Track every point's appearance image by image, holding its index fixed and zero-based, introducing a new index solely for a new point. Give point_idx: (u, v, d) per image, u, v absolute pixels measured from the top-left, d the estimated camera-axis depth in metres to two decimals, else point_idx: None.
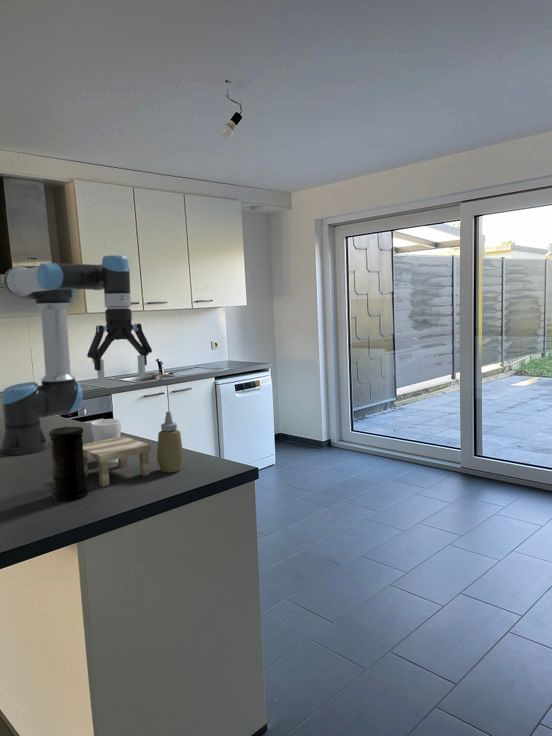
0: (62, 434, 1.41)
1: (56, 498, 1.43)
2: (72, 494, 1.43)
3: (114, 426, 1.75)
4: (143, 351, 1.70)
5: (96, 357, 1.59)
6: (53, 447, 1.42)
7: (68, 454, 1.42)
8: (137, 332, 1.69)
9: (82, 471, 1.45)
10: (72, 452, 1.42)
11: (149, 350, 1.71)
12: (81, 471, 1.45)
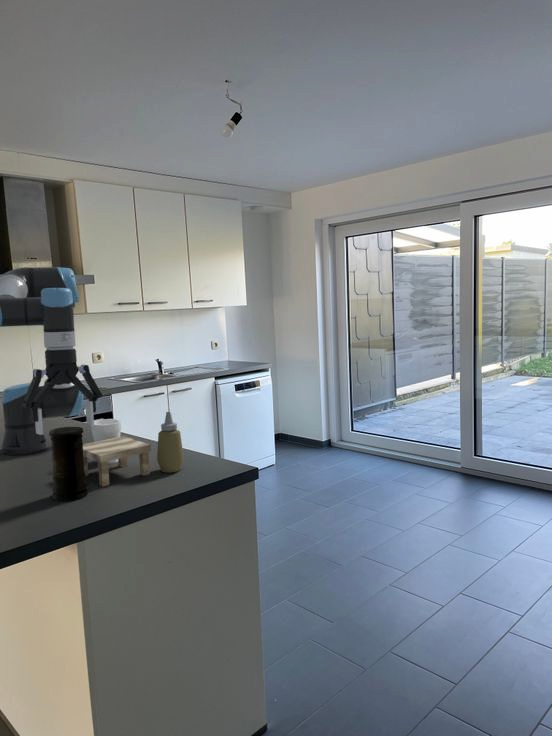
0: (62, 434, 1.41)
1: (56, 498, 1.43)
2: (72, 494, 1.43)
3: (114, 426, 1.75)
4: (91, 396, 1.48)
5: (32, 406, 1.37)
6: (53, 447, 1.42)
7: (68, 454, 1.42)
8: (84, 375, 1.47)
9: (82, 471, 1.45)
10: (72, 452, 1.42)
11: (99, 395, 1.49)
12: (81, 471, 1.45)
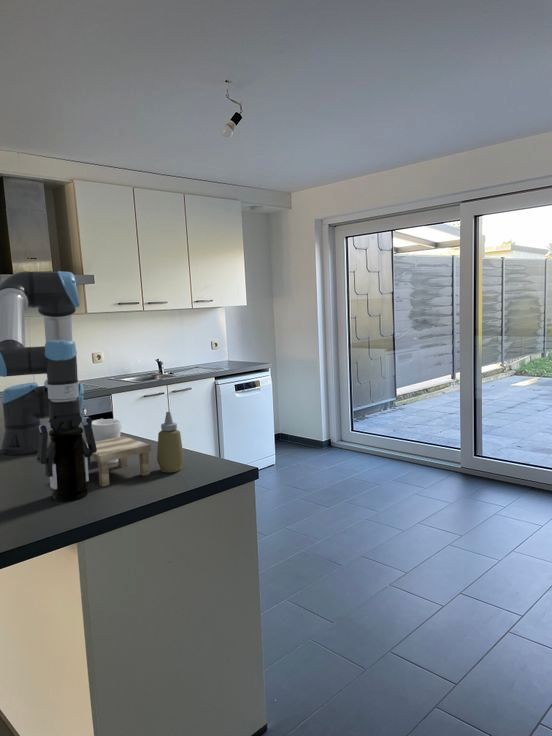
0: (62, 434, 1.41)
1: (56, 498, 1.43)
2: (72, 494, 1.43)
3: (114, 426, 1.75)
4: (87, 451, 1.48)
5: (47, 463, 1.41)
6: None
7: (68, 454, 1.42)
8: (85, 427, 1.48)
9: (82, 471, 1.45)
10: (72, 452, 1.42)
11: (93, 450, 1.49)
12: (81, 471, 1.45)
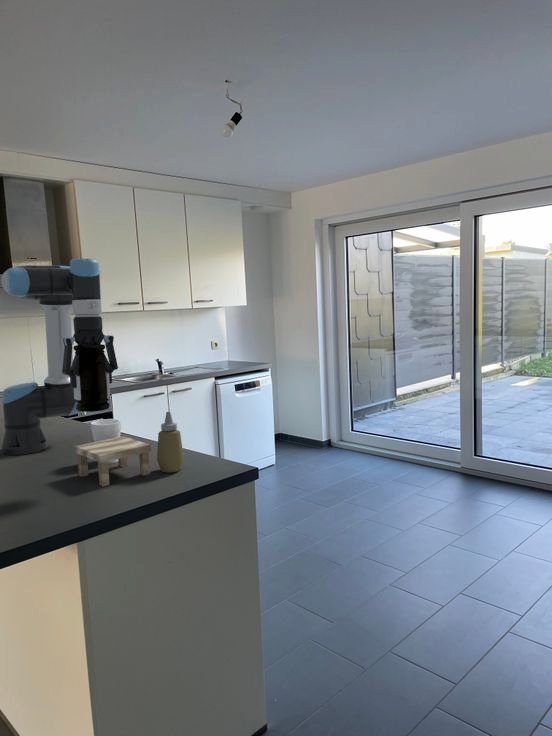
0: (86, 347, 1.49)
1: (80, 409, 1.51)
2: (95, 405, 1.51)
3: (114, 426, 1.75)
4: (108, 367, 1.56)
5: (72, 374, 1.49)
6: None
7: (92, 366, 1.50)
8: (107, 344, 1.56)
9: (104, 385, 1.53)
10: (95, 365, 1.50)
11: (115, 366, 1.57)
12: (103, 385, 1.53)
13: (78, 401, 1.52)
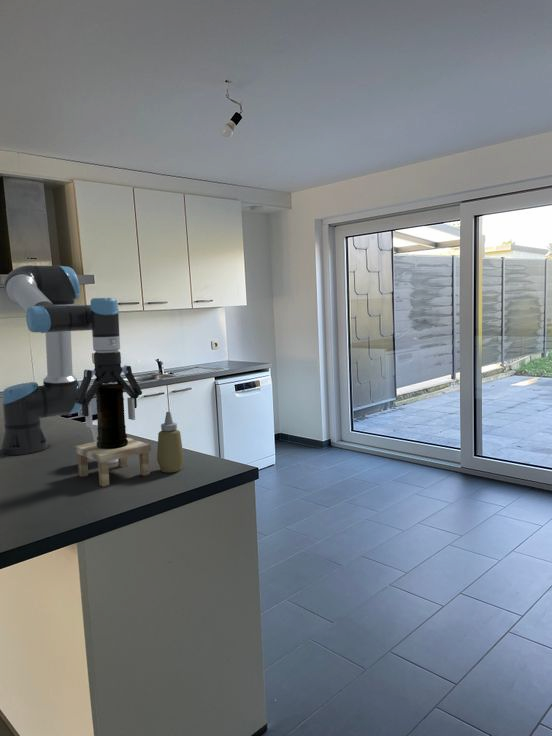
0: (106, 388, 1.57)
1: (100, 446, 1.59)
2: (115, 442, 1.59)
3: None
4: (133, 394, 1.65)
5: (84, 403, 1.55)
6: (98, 400, 1.59)
7: (112, 406, 1.58)
8: (127, 374, 1.65)
9: (123, 423, 1.62)
10: (115, 404, 1.59)
11: (139, 392, 1.67)
12: (122, 423, 1.61)
13: (99, 439, 1.60)
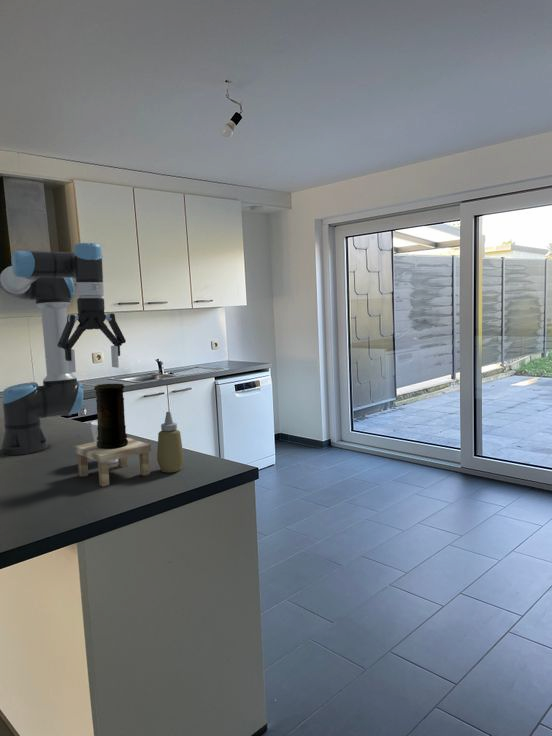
0: (107, 388, 1.57)
1: (100, 446, 1.59)
2: (115, 442, 1.59)
3: None
4: (116, 341, 1.67)
5: (67, 347, 1.56)
6: (98, 400, 1.59)
7: (112, 406, 1.58)
8: (110, 322, 1.66)
9: (123, 423, 1.62)
10: (115, 404, 1.59)
11: (123, 340, 1.68)
12: (122, 423, 1.61)
13: (99, 438, 1.60)
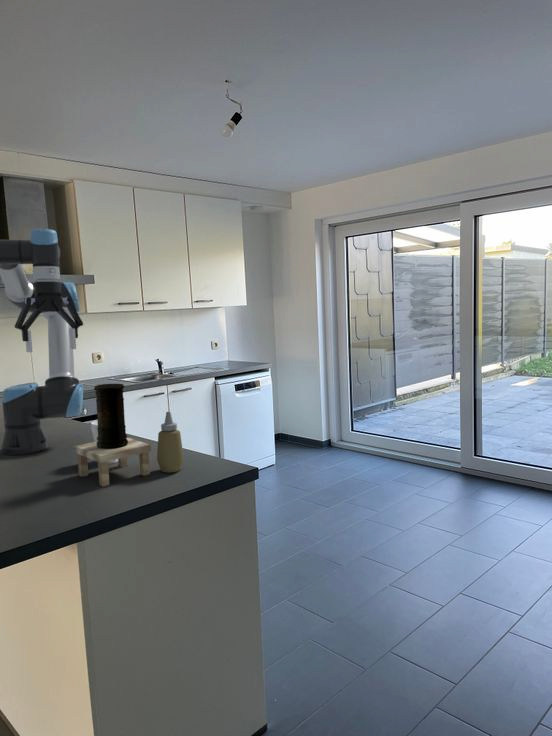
0: (106, 388, 1.57)
1: (100, 446, 1.59)
2: (115, 442, 1.59)
3: None
4: (74, 324, 1.74)
5: (23, 328, 1.63)
6: (98, 400, 1.59)
7: (112, 406, 1.58)
8: (68, 305, 1.73)
9: (123, 423, 1.62)
10: (115, 404, 1.59)
11: (80, 323, 1.75)
12: (122, 423, 1.61)
13: (99, 439, 1.60)
